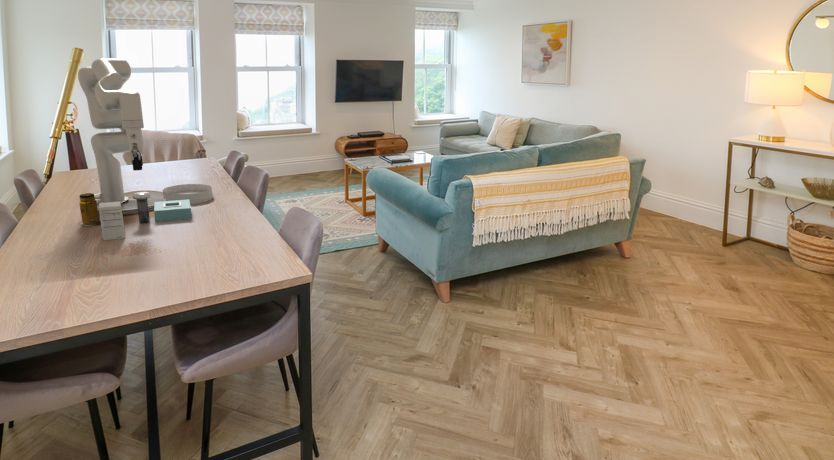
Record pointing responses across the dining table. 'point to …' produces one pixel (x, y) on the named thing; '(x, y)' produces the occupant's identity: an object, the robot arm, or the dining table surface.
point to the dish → (188, 193)
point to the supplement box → (111, 220)
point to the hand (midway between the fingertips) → (138, 167)
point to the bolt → (142, 206)
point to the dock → (172, 210)
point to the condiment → (89, 210)
